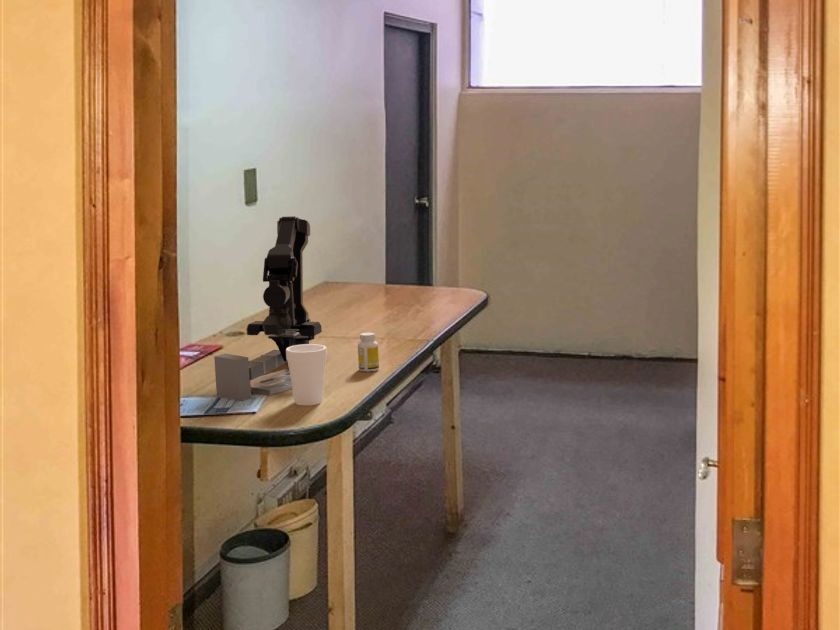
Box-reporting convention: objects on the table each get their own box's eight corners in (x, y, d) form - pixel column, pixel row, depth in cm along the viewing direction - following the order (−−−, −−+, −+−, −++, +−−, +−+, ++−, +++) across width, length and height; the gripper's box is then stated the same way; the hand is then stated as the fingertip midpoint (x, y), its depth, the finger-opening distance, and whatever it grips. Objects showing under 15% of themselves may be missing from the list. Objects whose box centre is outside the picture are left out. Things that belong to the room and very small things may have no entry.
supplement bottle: (381, 368, 280) (380, 332, 278) (375, 372, 275) (374, 336, 273) (362, 367, 281) (361, 331, 279) (355, 371, 276) (354, 335, 274)
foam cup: (284, 399, 249) (281, 346, 247) (320, 395, 253) (318, 342, 250) (295, 409, 241) (293, 354, 238) (333, 404, 244) (331, 349, 242)
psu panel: (285, 373, 276) (284, 368, 276) (321, 379, 268) (321, 373, 268) (233, 388, 262) (233, 382, 261) (270, 395, 254) (270, 389, 254)
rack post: (227, 393, 257) (225, 353, 255) (250, 397, 252) (248, 357, 250) (216, 396, 254) (214, 356, 252) (239, 400, 249) (237, 360, 248)
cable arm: (274, 373, 276) (273, 348, 275) (289, 373, 275) (288, 349, 274) (234, 394, 255) (232, 367, 254) (249, 394, 254) (248, 368, 253)
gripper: (235, 306, 262) (239, 367, 265) (304, 307, 257) (307, 369, 260) (253, 299, 273) (257, 357, 276) (320, 300, 268) (323, 359, 270)
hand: (285, 361), depth 270 cm, fingers closed
